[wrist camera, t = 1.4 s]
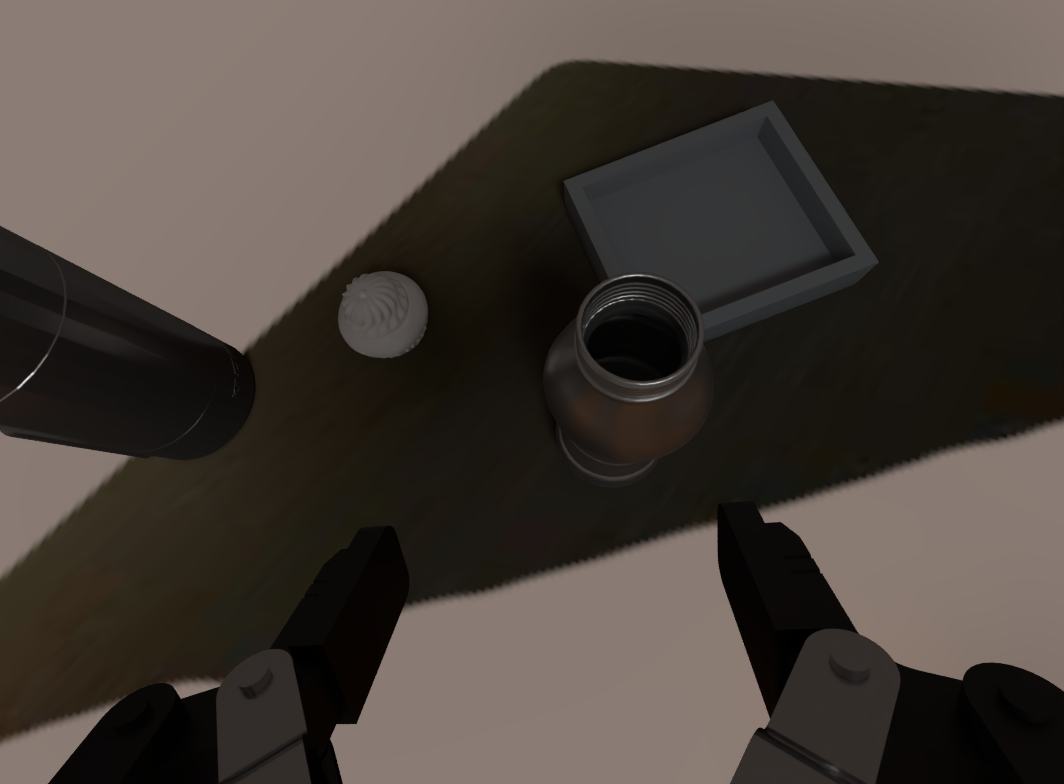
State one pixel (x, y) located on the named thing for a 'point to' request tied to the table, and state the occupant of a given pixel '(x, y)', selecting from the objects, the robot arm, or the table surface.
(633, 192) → the tray
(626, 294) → the plastic bottle
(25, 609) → the table surface
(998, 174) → the table surface
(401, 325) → the muffin
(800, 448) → the table surface
